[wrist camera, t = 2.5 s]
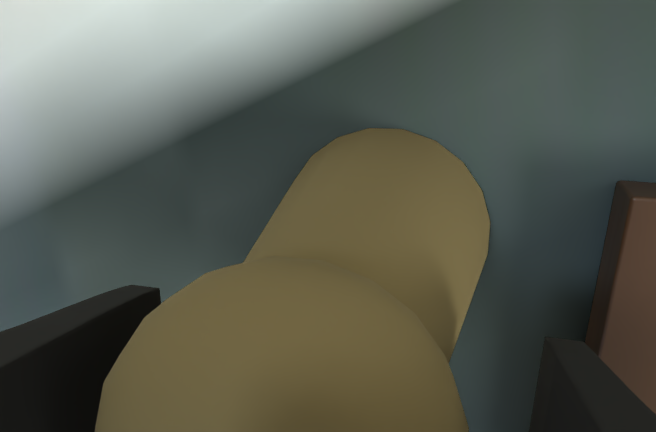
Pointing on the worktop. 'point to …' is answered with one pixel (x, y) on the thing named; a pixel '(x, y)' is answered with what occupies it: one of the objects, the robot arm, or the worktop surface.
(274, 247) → the olive door knob
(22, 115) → the worktop surface
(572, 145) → the worktop surface
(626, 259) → the shelf
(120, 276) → the worktop surface
